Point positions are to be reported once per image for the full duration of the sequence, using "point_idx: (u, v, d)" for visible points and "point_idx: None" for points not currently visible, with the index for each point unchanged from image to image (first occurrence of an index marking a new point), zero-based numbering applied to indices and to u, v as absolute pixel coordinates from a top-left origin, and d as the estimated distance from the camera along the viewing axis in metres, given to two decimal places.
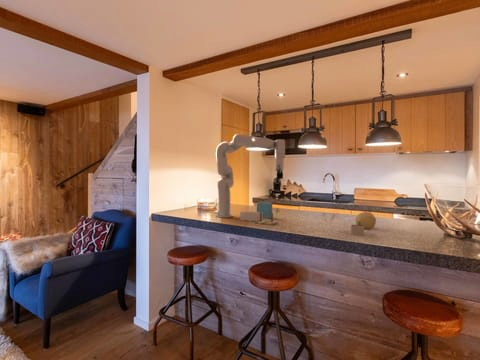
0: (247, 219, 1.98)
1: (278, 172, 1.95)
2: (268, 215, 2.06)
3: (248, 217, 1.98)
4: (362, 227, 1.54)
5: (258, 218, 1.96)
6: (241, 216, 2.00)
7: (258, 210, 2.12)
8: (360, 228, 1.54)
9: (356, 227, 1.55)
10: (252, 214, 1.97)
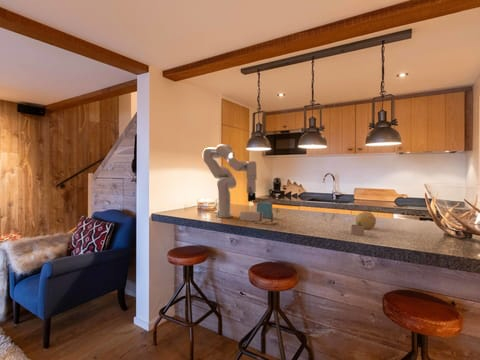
0: (247, 219, 1.98)
1: (249, 195, 1.93)
2: (268, 215, 2.06)
3: (248, 217, 1.98)
4: (362, 227, 1.54)
5: (258, 218, 1.96)
6: (241, 216, 2.00)
7: (258, 210, 2.12)
8: (360, 228, 1.54)
9: (356, 227, 1.55)
10: (252, 214, 1.97)
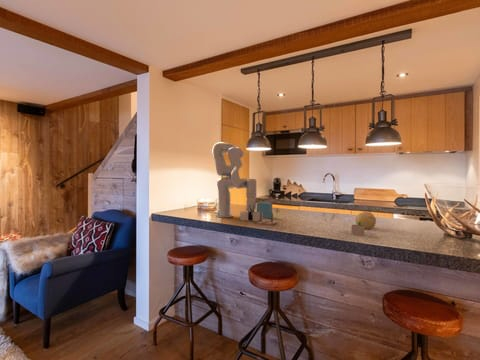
0: (247, 219, 1.98)
1: (249, 214, 1.95)
2: (268, 215, 2.06)
3: None
4: (362, 227, 1.54)
5: (258, 218, 1.96)
6: (241, 216, 2.00)
7: (258, 210, 2.12)
8: (360, 228, 1.54)
9: (356, 227, 1.55)
10: (252, 214, 1.97)
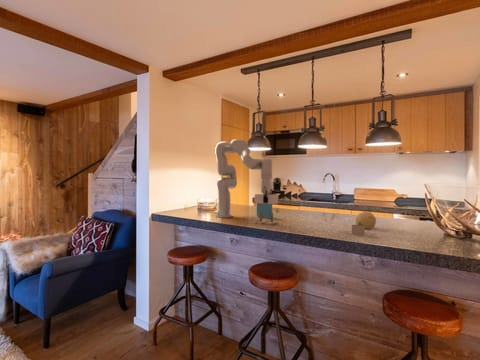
0: (262, 202, 1.87)
1: (265, 196, 1.84)
2: (268, 215, 2.06)
3: None
4: (362, 227, 1.54)
5: (274, 200, 1.84)
6: (255, 199, 1.88)
7: (258, 210, 2.12)
8: (360, 228, 1.54)
9: (356, 227, 1.55)
10: (267, 196, 1.85)
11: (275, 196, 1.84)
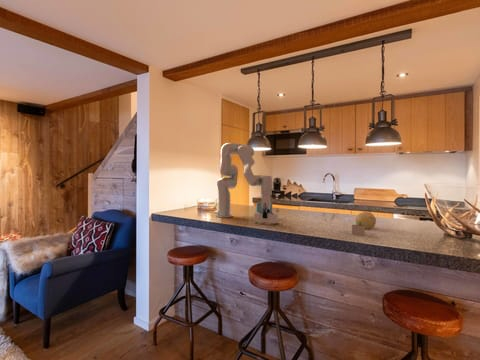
0: (262, 221, 1.87)
1: (264, 211, 1.82)
2: None
3: (263, 218, 1.87)
4: (363, 227, 1.54)
5: (274, 219, 1.85)
6: (255, 218, 1.89)
7: (258, 210, 2.12)
8: (361, 228, 1.54)
9: (357, 227, 1.55)
10: (267, 215, 1.86)
11: (275, 215, 1.84)
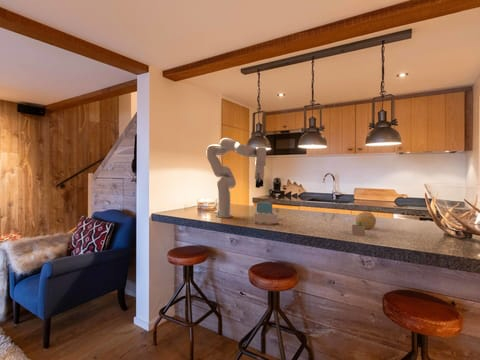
0: (262, 221, 1.87)
1: (257, 181, 1.91)
2: None
3: (263, 218, 1.87)
4: (363, 227, 1.54)
5: (274, 219, 1.85)
6: (255, 218, 1.89)
7: (258, 210, 2.12)
8: (361, 228, 1.54)
9: (357, 227, 1.55)
10: (267, 215, 1.86)
11: (275, 215, 1.84)
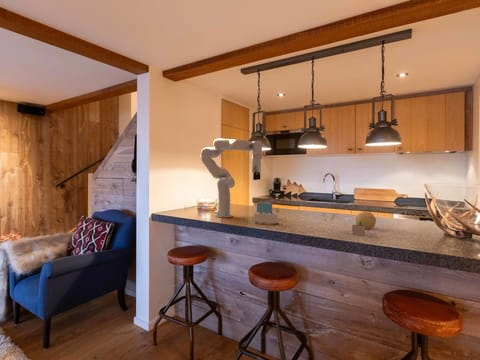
0: (262, 221, 1.87)
1: (254, 173, 1.96)
2: None
3: (263, 218, 1.87)
4: (363, 227, 1.54)
5: (274, 219, 1.85)
6: (255, 218, 1.89)
7: (258, 210, 2.12)
8: (361, 228, 1.54)
9: (357, 227, 1.55)
10: (267, 215, 1.86)
11: (275, 215, 1.84)
